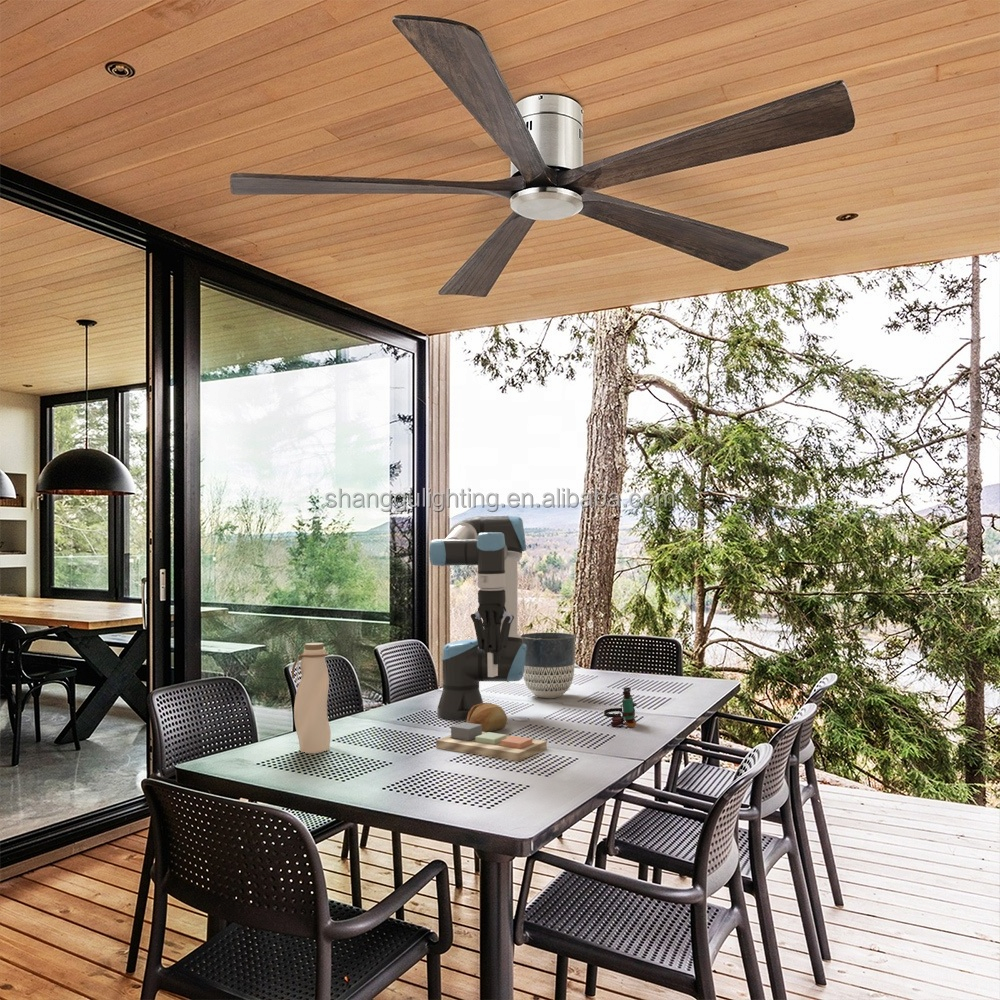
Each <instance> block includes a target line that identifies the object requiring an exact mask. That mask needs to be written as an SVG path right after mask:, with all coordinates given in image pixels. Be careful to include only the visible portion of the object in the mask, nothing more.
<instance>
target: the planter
mask: <svg viewBox="0 0 1000 1000" xmlns="http://www.w3.org/2000/svg"><path fill="white" fill-rule="evenodd" d="M519 636H520V637H521V638H522V644H523V643H524V644H526V645H527V651H526V661H525V669H524V674H523V677H522V678H523V681H524V683H525V685H526V688H527V689H528V690H529V691H530V693H532V694H533V695H534V696H537V697H538V698H542V699H555V698H558V697H561V696H562V695H564V694H565V693H566V692H567V691H568V690H569V689H570V687H571V685H572V684H573V679H574V676H575V662H576V635H575V634H572V633H567V632H531V633H524V634H520V635H519Z"/></svg>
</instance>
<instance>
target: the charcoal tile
mask: <svg viewBox="0 0 1000 1000" xmlns="http://www.w3.org/2000/svg"><path fill="white" fill-rule="evenodd" d="M450 735H451V738H455V739H462V740H465V741H467V740H468V741H470V740H472V739H475V737H476V736H479V735H482V725H480V724H473V723H467V721H466V722H465V721H464V722H461V723H458V724H454V725H451V726H450Z"/></svg>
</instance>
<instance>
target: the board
mask: <svg viewBox="0 0 1000 1000" xmlns="http://www.w3.org/2000/svg"><path fill="white" fill-rule="evenodd" d="M484 733H487V732H482V734H484ZM506 735H507V734H506ZM511 736H512V735H507V738H509V737H511ZM435 743H436V744H435V747H436V748H437V749H442V750H446V751H447V750H449V751H454V752H461V753H466V754H472V755H479V756H485V757H489V758H495V759H500V760H501V759H504V760H506V761H507V760H508V761H512V762H513V761H515V762H520V761H523V760H525V759H527V758H529V757H531V756H534V755H536V754H538V753H541V752H543V751H545V750H548V744H547V743H548V741H547V740H541V739H534V738H532V745H530V746H528V747H525V748H523V749H516V748H509V747H503V746H501V743H499V744H497V745H490V744H484V743H477V742H475V739H472V740H470V741H468V740H462V739H455V738H451V734H450V735H447V736H444V737H441V738H438V739H436V740H435Z"/></svg>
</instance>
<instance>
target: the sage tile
mask: <svg viewBox="0 0 1000 1000" xmlns="http://www.w3.org/2000/svg"><path fill="white" fill-rule="evenodd" d="M506 738H507V734H504V733H503V734H502V733H495V732H492V731H490V732H487V733H484V734H482V735H479V736H476V737H475V742H477V743H484V744H490V745H497V744H499V743H501V740H504V739H506Z"/></svg>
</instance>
